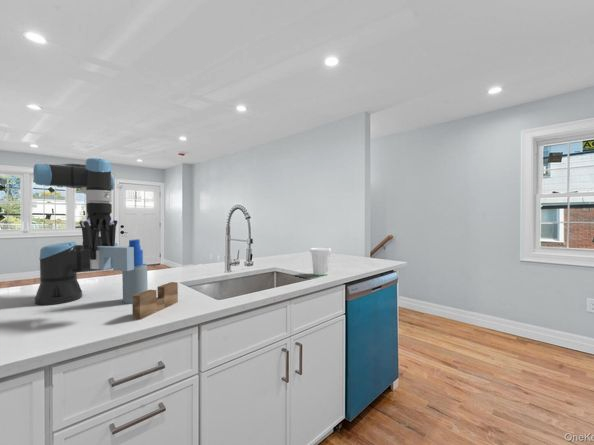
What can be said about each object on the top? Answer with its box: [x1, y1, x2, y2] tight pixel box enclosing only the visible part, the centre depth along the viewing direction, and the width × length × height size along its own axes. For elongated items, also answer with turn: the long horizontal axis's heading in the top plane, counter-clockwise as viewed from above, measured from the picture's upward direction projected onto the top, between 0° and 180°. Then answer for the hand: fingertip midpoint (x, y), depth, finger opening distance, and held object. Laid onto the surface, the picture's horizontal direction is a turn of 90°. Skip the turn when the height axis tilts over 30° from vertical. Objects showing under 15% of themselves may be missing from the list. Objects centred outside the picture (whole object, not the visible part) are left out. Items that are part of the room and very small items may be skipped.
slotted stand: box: [131, 281, 179, 320], centre depth 108 cm, size 3×20×8 cm, turn 166°
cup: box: [309, 247, 332, 277], centre depth 172 cm, size 12×12×15 cm
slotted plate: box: [90, 246, 134, 272], centre depth 104 cm, size 16×3×8 cm, turn 76°
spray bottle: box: [121, 239, 149, 305], centre depth 120 cm, size 9×9×25 cm
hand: (100, 267), depth 105 cm, fingers closed on slotted plate, 3 cm apart
